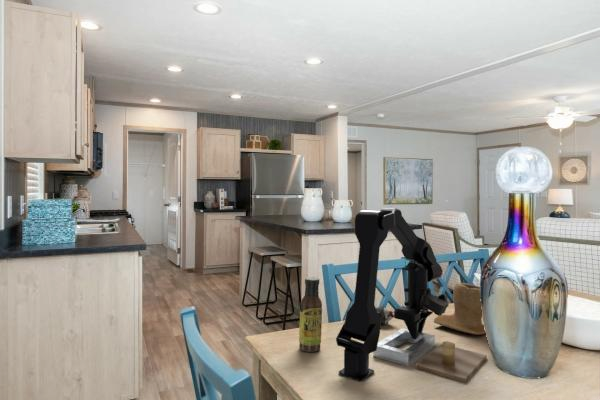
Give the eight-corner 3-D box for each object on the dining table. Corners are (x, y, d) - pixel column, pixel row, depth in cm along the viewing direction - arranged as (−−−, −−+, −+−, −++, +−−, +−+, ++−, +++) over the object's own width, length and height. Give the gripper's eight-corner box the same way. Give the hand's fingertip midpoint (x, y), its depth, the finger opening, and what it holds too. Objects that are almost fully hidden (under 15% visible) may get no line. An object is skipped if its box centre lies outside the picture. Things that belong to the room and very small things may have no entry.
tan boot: (495, 332, 128) (496, 285, 128) (477, 340, 121) (478, 290, 120) (451, 320, 140) (452, 277, 140) (432, 327, 132) (433, 281, 132)
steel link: (408, 366, 102) (408, 354, 102) (373, 356, 108) (373, 345, 108) (434, 345, 116) (434, 335, 116) (402, 337, 122) (402, 327, 122)
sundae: (353, 309, 133) (399, 308, 131) (352, 303, 139) (396, 302, 138) (354, 328, 133) (400, 328, 131) (353, 322, 139) (397, 321, 138)
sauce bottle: (303, 354, 109) (303, 281, 109) (296, 346, 115) (296, 276, 115) (325, 351, 111) (325, 279, 111) (316, 343, 117) (317, 275, 117)
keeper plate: (465, 382, 93) (465, 357, 93) (415, 368, 101) (416, 344, 101) (486, 358, 107) (486, 336, 107) (441, 347, 115) (441, 326, 115)
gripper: (432, 295, 106) (431, 354, 106) (455, 283, 120) (455, 335, 121) (393, 288, 113) (392, 344, 113) (419, 278, 127) (419, 327, 128)
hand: (416, 337), depth 118 cm, fingers open, 3 cm apart
